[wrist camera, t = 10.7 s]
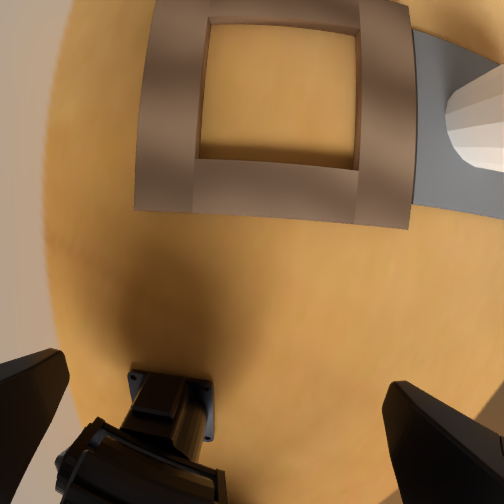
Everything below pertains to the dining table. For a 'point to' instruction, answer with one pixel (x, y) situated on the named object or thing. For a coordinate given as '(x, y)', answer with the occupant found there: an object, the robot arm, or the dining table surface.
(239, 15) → the board
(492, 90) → the white cup
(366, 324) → the dining table surface
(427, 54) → the rubber mat
